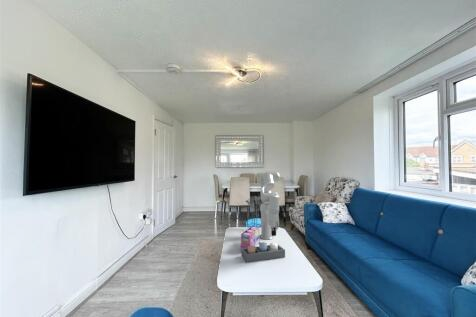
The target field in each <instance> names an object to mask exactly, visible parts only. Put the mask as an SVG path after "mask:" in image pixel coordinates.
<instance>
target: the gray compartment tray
mask: <svg viewBox="0 0 476 317" xmlns="http://www.w3.org/2000/svg"><path fill="white" fill-rule="evenodd" d="M240 256H241V258H242V257H243V258H242V259H243V261H245V263H247V264H248V263H255V262H261V261H269V260H276V259H283V258H284V259H285V258H286V249H285V248H284V247H283V246H281V245H280V244H278V250H275V251H271V250H270V244H267V252H260V251H259V245H257V246H256V247H255V253H252V254H248V248H241V247H240Z"/></svg>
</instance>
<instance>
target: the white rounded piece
mask: <svg viewBox="0 0 476 317" xmlns="http://www.w3.org/2000/svg"><path fill="white" fill-rule="evenodd" d="M269 245H270V250H271V251H275V250H278V245H279V244H278V243H276V242H271V243H270V244H269Z"/></svg>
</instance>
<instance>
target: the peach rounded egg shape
mask: <svg viewBox="0 0 476 317" xmlns="http://www.w3.org/2000/svg"><path fill="white" fill-rule="evenodd" d="M252 253H255V246H253V245H250V246H248V254H252Z"/></svg>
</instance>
